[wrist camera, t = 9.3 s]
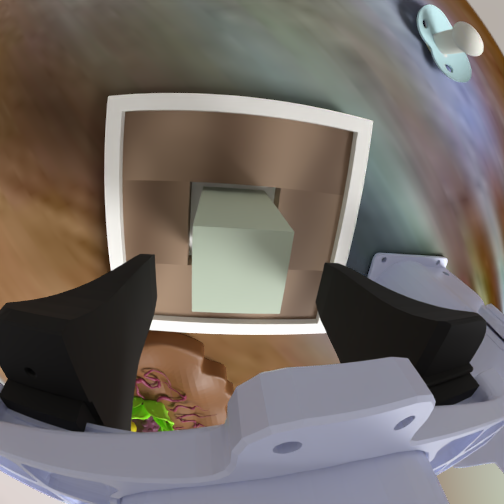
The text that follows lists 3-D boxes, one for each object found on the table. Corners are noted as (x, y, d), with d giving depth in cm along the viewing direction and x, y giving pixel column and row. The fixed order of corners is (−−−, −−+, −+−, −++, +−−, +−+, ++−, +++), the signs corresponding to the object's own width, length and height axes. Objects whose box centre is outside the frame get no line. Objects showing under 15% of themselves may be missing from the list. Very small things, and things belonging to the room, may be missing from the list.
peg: (264, 190, 19) (294, 231, 11) (257, 246, 20) (279, 313, 13) (203, 186, 18) (192, 225, 11) (200, 243, 20) (192, 311, 12)
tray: (352, 120, 18) (373, 120, 15) (315, 311, 24) (326, 332, 21) (123, 100, 16) (108, 96, 13) (129, 304, 22) (120, 327, 19)
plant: (105, 429, 31) (92, 493, 20) (39, 328, 22) (-6, 405, 12) (241, 431, 32) (250, 504, 22) (224, 323, 24) (231, 436, 14)
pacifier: (433, 5, 13) (398, 15, 14) (478, -9, 8) (446, -5, 8) (469, 71, 16) (439, 88, 17) (516, 70, 11) (492, 87, 11)
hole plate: (343, 131, 17) (353, 132, 16) (310, 307, 23) (315, 318, 21) (132, 112, 15) (125, 111, 14) (137, 301, 21) (132, 313, 19)
